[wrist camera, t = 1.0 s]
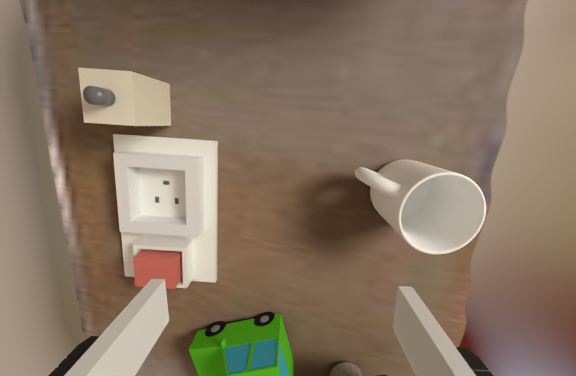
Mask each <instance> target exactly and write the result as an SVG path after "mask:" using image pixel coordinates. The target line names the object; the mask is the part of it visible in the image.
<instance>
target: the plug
mask: <svg viewBox="0 0 576 376" xmlns="http://www.w3.org/2000/svg"><path fill="white" fill-rule="evenodd" d="M78 71H79V80H80V90H81V99H82V108H83V118H84V123H98V124H112V125H127V126H171V109H170V84H168V83H165V82H162V81H159V80H156V79H153V78H150V77H147V76H144V75H141V74H138V73H135V72H132V71H118V70H104V69H90V68H78Z"/></svg>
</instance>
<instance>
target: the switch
mask: <svg viewBox="0 0 576 376" xmlns="http://www.w3.org/2000/svg"><path fill="white" fill-rule="evenodd" d="M133 264H134V278H135V286H137V287H145V286H146V284H147V283H148V282H149V281H150V280H151V279H165V285H166V289H175V288H176V286H177V285H178V284H179V282H180V281H181V261H180V253H177V252H162V251H148V250H141V251H140V252H139V253H138V254H137V255H135V256H134V257H133Z"/></svg>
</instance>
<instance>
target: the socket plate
mask: <svg viewBox="0 0 576 376" xmlns="http://www.w3.org/2000/svg"><path fill="white" fill-rule="evenodd" d="M113 142H114V153H113V158H114V170H115V182H116V193H117V205H118V217H119V228H120V232H121V237H122V249H123V261H124V273H125V276H128V277H134V264H133V257H134V256H135V255H137V254H138V253H139V252H140V251H141V250H148V251H162V252H177V253H180V261H181V281H180V282H179V284H178V285H177V286H176V288H187V287H188V286H189V284H190V282H191V281H200V282H216V280H217V199H218V141H211V140H197V139H183V138H168V137H154V136H140V135H126V134H113Z"/></svg>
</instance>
